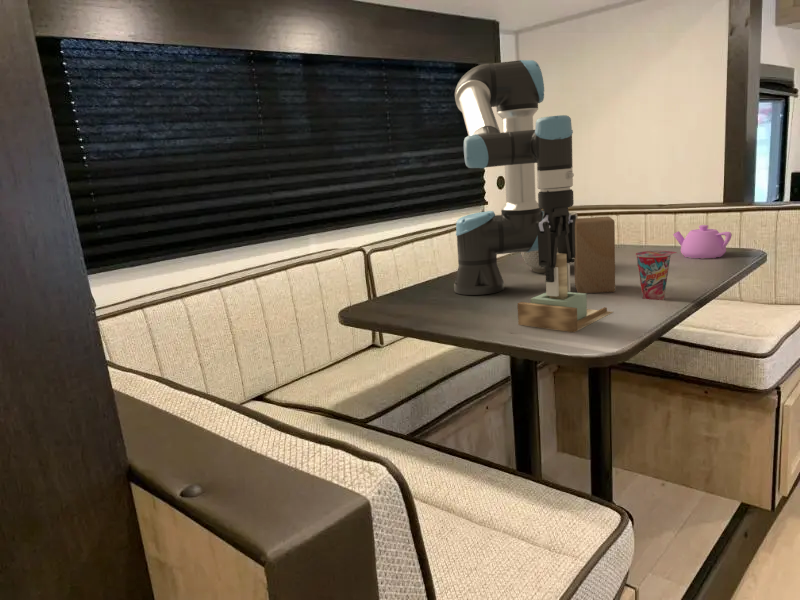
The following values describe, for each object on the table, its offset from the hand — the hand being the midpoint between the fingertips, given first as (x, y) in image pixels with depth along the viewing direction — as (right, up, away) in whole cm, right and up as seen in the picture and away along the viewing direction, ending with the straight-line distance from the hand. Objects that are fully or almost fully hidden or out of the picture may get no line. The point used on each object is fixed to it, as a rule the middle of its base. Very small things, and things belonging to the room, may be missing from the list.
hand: (558, 293), depth 135 cm
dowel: (0, -5, +1) cm, 5 cm away
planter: (+15, +8, +67) cm, 69 cm away
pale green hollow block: (+1, -7, +1) cm, 7 cm away
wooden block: (+19, +1, +34) cm, 39 cm away
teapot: (+67, +13, +69) cm, 98 cm away
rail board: (+3, -7, +4) cm, 8 cm away
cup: (+30, -2, +18) cm, 34 cm away
